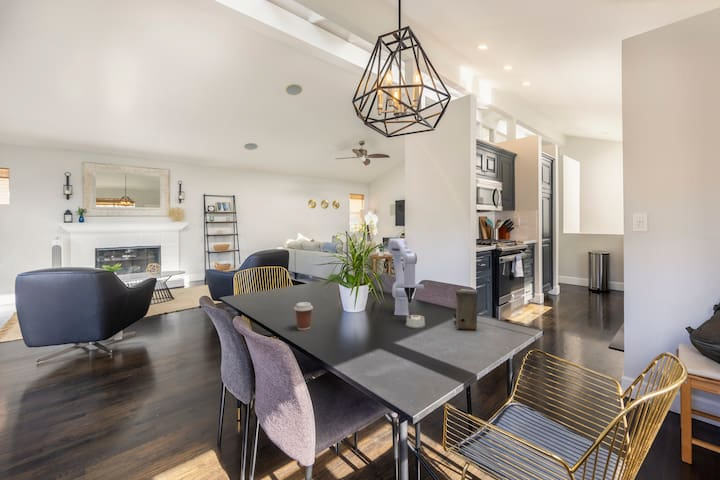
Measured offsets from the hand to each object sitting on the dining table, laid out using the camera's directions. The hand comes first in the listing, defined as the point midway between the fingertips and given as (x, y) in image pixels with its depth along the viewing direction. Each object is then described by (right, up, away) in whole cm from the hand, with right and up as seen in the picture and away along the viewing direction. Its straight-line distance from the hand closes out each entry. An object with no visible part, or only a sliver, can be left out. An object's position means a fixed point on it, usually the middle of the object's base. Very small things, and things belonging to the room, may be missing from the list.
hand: (409, 302), depth 171 cm
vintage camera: (+26, -11, -5) cm, 29 cm away
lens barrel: (+2, -11, -5) cm, 12 cm away
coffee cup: (-54, -11, -8) cm, 55 cm away
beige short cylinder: (+2, -10, -5) cm, 12 cm away
